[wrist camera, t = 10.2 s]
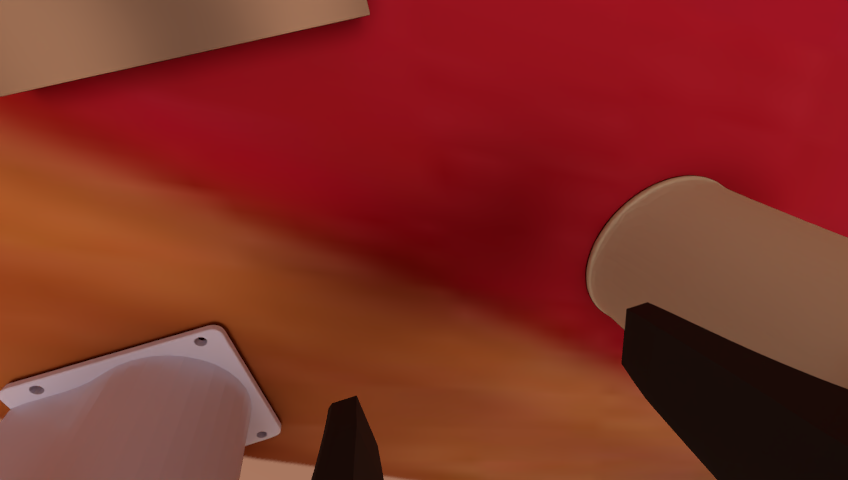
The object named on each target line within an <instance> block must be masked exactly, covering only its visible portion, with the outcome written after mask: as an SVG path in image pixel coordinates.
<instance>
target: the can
mask: <svg viewBox="0 0 848 480" xmlns="http://www.w3.org/2000/svg"><path fill="white" fill-rule="evenodd" d="M586 282H587V289H588V292H589V295H590V297H591V299H592V301H593V302H594V304H595V305H596V306H597V307H598V308H599V309H600V310H601V311H602V312H604V313H605V314H607V315H608V316H610V317H611V318H612V319H613V320H615V321H616V322H617V323H618V324H619V325H620V326H621V327H622V328H623V329H624V330H625V320H626V309H628V308H631V307H634V306H637V305H640V304H643V303H646V302H649V303H651V304H653V305H655V306H658V307H660V308H662V309H664V310H666V311H669V312H671V313H673V314H675V315H677V316H679V317H681V318H684V319H686V320H688V321H690V322H692V323H694V324H696V325H698V326H700V327H703V328H705V329H707V330H709V331H711V332H713V333H715V334H718V335H720V336H722V337H724V338H726V339H728V340H731V341H733V342H735V343H737V344H739V345H742V346H744V347H746V348H748V349H751V350H753V351H755V352H757V353H760V354H762V355H764V356H767V357H769V358H771V359H773V360H776V361H778V362H781V363H783V364H785V365H788V366H790V367H793V368H795V369H798V370H800V371H803V372H805V373H807V374H810V375H812V376H815V377H817V378H820V379H822V380H825V381H828V382H830V383H833V384H836V385H838V386H841V387H844V388H846V389H848V238H847V237H844V236H842V235H839V234H837V233H834V232H831V231H829V230H826V229H824V228H821V227H819V226H816V225H814V224H811V223H809V222H806V221H804V220H801V219H799V218H796V217H794V216H791V215H789V214H786V213H784V212H781V211H779V210H777V209H774V208H772V207H769V206H767V205H764V204H762V203H759V202H757V201H754V200H752V199H749V198H747V197H745V196H742V195H740V194H738V193H735V192H733V191H731V190H729V189H726V188H725V187H723V186H722V185H721V184H719V183H718V182H716V181H714V180H712V179H709V178H705V177H700V176H681V177H676V178H671V179H668V180H665V181H662V182H659V183H657V184H655V185H653V186H651V187H649V188H647V189H645V190H644V191H642V192H640V193H639V194H637V195H636V196H634V197H633V198H632V199H631V200H629V201H628V202H627V203H626V204H625V205H624V206H622V207H621V208H620V209H619V210H618V211H617V212H616V213H615V214H614V216H613V217H612V218H611V219H610V220H609V221H608V223H607V224H606V225H605V227H604V228H603V230H602V231H601V233H600V234H599V236H598V238H597V240H596V241H595V244H594V246H593V248H592V250H591V253H590V257H589V260H588V265H587V271H586Z"/></svg>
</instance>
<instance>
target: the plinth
mask: <svg viewBox="0 0 848 480" xmlns="http://www.w3.org/2000/svg"><path fill="white" fill-rule="evenodd" d="M367 15H370V12H369V8H368V4H367V0H0V97H1V96H6V95H11V94H15V93H20V92H25V91H29V90H34V89H38V88H43V87H47V86H52V85H56V84H61V83H65V82H70V81H74V80H79V79H84V78H88V77H93V76H97V75H102V74H106V73H111V72H115V71H120V70H124V69H129V68H133V67H138V66H142V65H147V64H151V63H156V62H160V61H165V60H169V59H174V58H178V57H183V56H188V55H192V54H197V53H201V52H206V51H210V50H215V49H219V48H224V47H228V46H233V45H237V44H242V43H246V42H251V41H255V40H260V39H264V38H269V37H273V36H278V35H282V34H287V33H292V32H296V31H301V30H305V29H310V28H314V27H319V26H323V25H328V24H332V23H337V22H341V21H346V20H350V19H355V18H359V17H363V16H367Z"/></svg>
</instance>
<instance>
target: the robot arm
mask: <svg viewBox="0 0 848 480" xmlns="http://www.w3.org/2000/svg"><path fill="white" fill-rule="evenodd" d="M198 337H203V338H205V339H206V340H199V339H198ZM622 365H623V366H624V368H625V369H626V371H627V372H628V374H629V375H630V377H631V378H632V380H633V381H634V383H635V384H636V386H637V387H638V388H639V390H640V391H641V392H642V394H643V395H644V397H645V398H646V399H647V400H648V402H649V403H650V404H651V405H652V406H653V408H654V409H655V410H656V411H657V412H658V413H659V414H660V416H661V417H662V418H663V419H664V420H665V421H666V422H667V424H668V425H669V426H670V427H671V428H672V429H673V430H674V431H675V433H676V434H677V435H678V436H679V437H680V438H681V439H682V441H683V442H684V443H685V444H686V445H687V446H688V447H689V448H690V450H691V451H692V452H693V453H694V454H695V455H696V456H697V457H698V459H699V460H700V461H701V462H702V463H703V464H704V465H705V466H706V468H707V469H708V470H709V471H710V472H711V473H712V474H713V475H714V477H715V478H716V479H717V480H848V389H846V388H844V387H841V386H838V385H836V384H833V383H830V382H828V381H825V380H822V379H820V378H817V377H815V376H812V375H810V374H807V373H805V372H803V371H800V370H798V369H795V368H793V367H790V366H788V365H785V364H783V363H781V362H778V361H776V360H773V359H771V358H769V357H767V356H764V355H762V354H760V353H757V352H755V351H753V350H751V349H748V348H746V347H744V346H742V345H739V344H737V343H735V342H733V341H731V340H728V339H726V338H724V337H722V336H720V335H718V334H715V333H713V332H711V331H709V330H707V329H705V328H703V327H700V326H698V325H696V324H694V323H692V322H690V321H688V320H686V319H684V318H681V317H679V316H677V315H675V314H673V313H671V312H669V311H666V310H664V309H662V308H660V307H658V306H655V305H653V304H651V303H649V302H646V303H643V304H640V305H637V306H634V307H631V308H628V309H626V320H625V331H624V342H623V353H622ZM39 386H41V387H39ZM0 400H1V401H2V402H3V403H4V404H5V405H7V406H8V407H9V408H10V409H11V410H10V411H9V412H8V413H7V414H6V416H5V417H4V418H3V419H2V420H1V422H0V480H239V477H240V471H241V466H242V460H243V455H244V450H245V446H247V445H250V444H253V443H256V442H259V441H262V440H265V439H268V438H271V437H274V436H276V435H278V434H279V433H280V431H281V423H280V421H279V419H278V418H277V416H276V414H275V413H274V411H273V410H272V408H271V406H270V405H269V403H268V401H267V400H266V398H265V396H264V395H263V393H262V391H261V390H260V388H259V386H258V385H257V383H256V381H255V380H254V378H253V376H252V375H251V373H250V371H249V370H248V368H247V366H246V365H245V363H244V361H243V360H242V358H241V356H240V355H239V353H238V351H237V350H236V348H235V346H234V345H233V343H232V341H231V340H230V338H229V336H228V335H227V333H226V331H225V330H224V329H223V328H222V327H220V326H218V325H208V326H205V327H201V328H198V329H195V330H191V331H188V332H184V333H181V334H177V335H174V336H171V337H167V338H164V339H160V340H157V341H153V342H150V343H146V344H143V345H140V346H136V347H133V348H129V349H126V350H122V351H119V352H116V353H112V354H109V355H105V356H102V357H98V358H95V359H92V360H88V361H85V362H81V363H78V364H74V365H71V366H67V367H64V368H61V369H57V370H54V371H50V372H47V373H43V374H40V375H37V376H33V377H30V378H26V379H23V380H19V381H16V382H13V383H9V384H7V385H5V386H4V387H3V389H2V390H1V391H0ZM261 431H262V432H261ZM312 480H384V479H383V473H382V467H381V462H380V456H379V451H378V445H377V443H376V441H375V438H374V436H373V433H372V431H371V429H370V426H369V424H368V422H367V419H366V417H365V414H364V412H363V410H362V407H361V405H360V403H359V400H358V398H357V396H354V397H351V398H348V399H344V400H341V401H338V402H335V403H332V404H331V406H330V407H329V409H328V415H327V420H326V425H325V429H324V434H323V438H322V442H321V446H320V450H319V454H318V458H317V462H316V465H315V469H314V473H313V476H312Z"/></svg>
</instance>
